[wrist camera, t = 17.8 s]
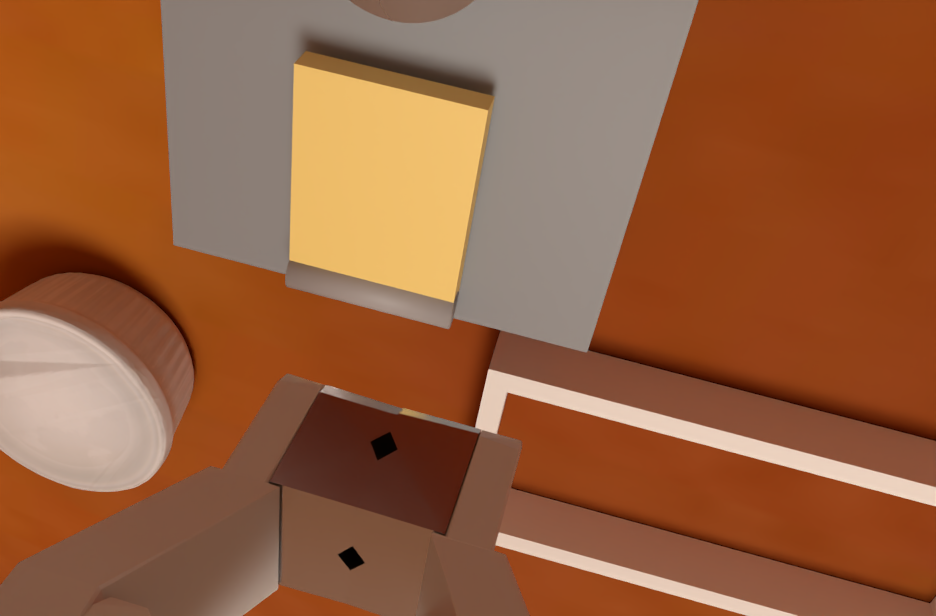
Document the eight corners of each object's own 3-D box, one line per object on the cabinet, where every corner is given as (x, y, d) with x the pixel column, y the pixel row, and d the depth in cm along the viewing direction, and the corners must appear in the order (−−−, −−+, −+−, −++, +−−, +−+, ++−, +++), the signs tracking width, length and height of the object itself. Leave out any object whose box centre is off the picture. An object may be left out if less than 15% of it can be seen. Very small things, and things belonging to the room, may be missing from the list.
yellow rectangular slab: (495, 95, 27) (485, 115, 25) (455, 312, 32) (446, 336, 31) (306, 50, 27) (289, 68, 26) (299, 272, 32) (285, 294, 31)
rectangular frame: (1063, 474, 38) (1087, 527, 35) (940, 620, 44) (954, 673, 42) (501, 327, 40) (488, 368, 37) (463, 488, 46) (451, 532, 44)
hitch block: (777, -312, 25) (796, -312, 20) (601, 265, 37) (587, 352, 32) (240, -420, 26) (137, -443, 21) (240, 174, 38) (173, 244, 33)
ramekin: (68, 208, 41) (-4, 268, 37) (254, 358, 44) (208, 429, 40) (-19, 328, 47) (-89, 391, 43) (151, 452, 50) (101, 522, 46)
